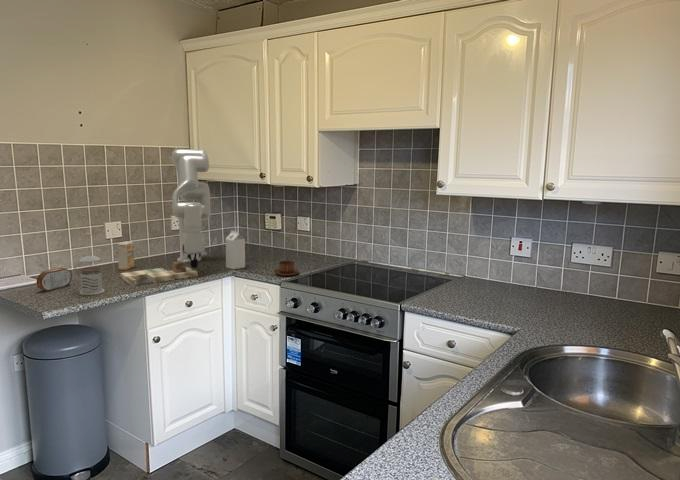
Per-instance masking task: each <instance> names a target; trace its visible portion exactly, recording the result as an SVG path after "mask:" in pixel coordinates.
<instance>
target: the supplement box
mask: <svg viewBox="0 0 680 480" xmlns="http://www.w3.org/2000/svg"><path fill="white" fill-rule="evenodd" d="M134 246H135V245H134V241H123V242H121V243H117V257H118V259H117V260H118V270H119V271H129V270H130V269H132V268H134V267H135V250H134Z"/></svg>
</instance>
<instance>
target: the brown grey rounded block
mask: <svg viewBox="0 0 680 480" xmlns="http://www.w3.org/2000/svg"><path fill="white" fill-rule="evenodd" d="M72 274H73V273H72V271H71V270H70V269H68V268H65V267H58V268H53V269H48V270H44V271H42V272H40V273H39V274H38V276H37V278H36V286H37V288H38V289H39V290H41V291H47V292H49V291H53V290H57V289H62V288H65V287H67V286H69V285H70V284H71V282H72V279H73V277H72V276H73V275H72Z"/></svg>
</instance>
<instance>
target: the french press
mask: <svg viewBox="0 0 680 480" xmlns="http://www.w3.org/2000/svg"><path fill="white" fill-rule="evenodd" d="M85 236H86V237H87V238H88V240H87V242H88V244H90V239H89V237H90V236H92V234H91V233H90V232H86V233H85ZM90 251H91V250H90V248H88V255H86V256H83V257H81V258H80V259H78V261H79V262H78V263H77V264H75V265H74V266H73V268H72V274H73V276H74V278H75V279H76V280H78V281H79V282H80V291H79V292H78V294H79V295H82V296H93V295H99V294H102V293H104V292H105V291H106V290H105V289H104V288H103V283H102V282H103V281H102V271H101V270H100V269H101V268H100V267H97V266H96V267H95V266H93V267H92V265H91V263H96V262H100V261H101V260H102V259H101V258H100V257H99V256H97V255H92V254H91V252H90ZM83 263H85V264H86V263H89V267H84V268H81V267H82V265H83ZM78 265H79V267H80V268H81V269H80V271H81V273H80V274H79V275H80V277H79V276H78V275H77V272H76V269H77V266H78Z"/></svg>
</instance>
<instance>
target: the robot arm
mask: <svg viewBox="0 0 680 480" xmlns="http://www.w3.org/2000/svg"><path fill="white" fill-rule="evenodd" d="M171 158H172V162H173V164H174V165H173V166H174V167H175V169H176V172H177V178H178V182H177V183H178V186H177V187H176V188H175V190H174V192H173V193H172V198H171V201H172V203H171V204H172V214H173V216H174V217H175V218H177V220H178V228H179V229H178V231H179V257H178V258H177V261H183V262H185V264H188V263H190V268H191V269H197V268H198V266H199V265H198V264H199V262H200V261H202V257H206V256H208V253H207V251H206V245H205V244H206V243H205V237H204V233H203V232H202V230H204V229H205V227H204V226H202V221H207V220H209V219H210V218H211V212H212V210H211V193H210V187H209V184H207V183H206V182H202V181H201V182H199V179H198V178H199V177H198V173H207V172H208V171H209V169H210V160H209V156H208V153H207V151H206V150H204V149H200V148H199V149H197V148H196V149H194V148H193V149H192V148H189V149H188V148H181V149H180V148H178V149H175V150H173V151H172V154H171ZM179 198H180V199H181V200H183V201H184V202H183V201H182V202H179ZM185 201H188V202H185ZM191 201H192V202H191ZM198 201H201V202H198ZM177 261H176V262H177Z"/></svg>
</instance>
